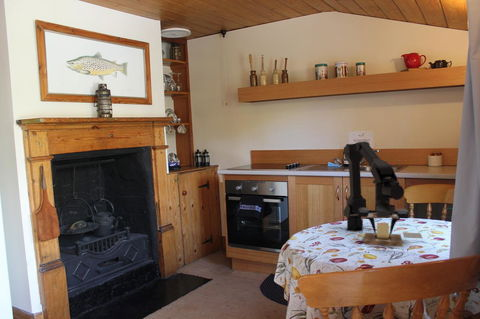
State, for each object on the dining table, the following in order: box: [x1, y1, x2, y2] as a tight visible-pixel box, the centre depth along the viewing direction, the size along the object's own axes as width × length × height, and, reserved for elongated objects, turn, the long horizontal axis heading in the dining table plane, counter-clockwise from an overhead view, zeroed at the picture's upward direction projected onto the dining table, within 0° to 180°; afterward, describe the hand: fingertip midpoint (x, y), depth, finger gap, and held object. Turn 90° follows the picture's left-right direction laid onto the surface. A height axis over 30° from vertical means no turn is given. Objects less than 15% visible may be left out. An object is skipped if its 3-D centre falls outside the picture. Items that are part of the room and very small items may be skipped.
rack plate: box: [364, 232, 403, 250], centre depth 165 cm, size 14×12×3 cm
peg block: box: [376, 222, 390, 240], centre depth 165 cm, size 4×4×8 cm
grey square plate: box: [402, 232, 423, 239], centre depth 172 cm, size 7×8×1 cm
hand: (382, 233), depth 165 cm, fingers open, 6 cm apart
